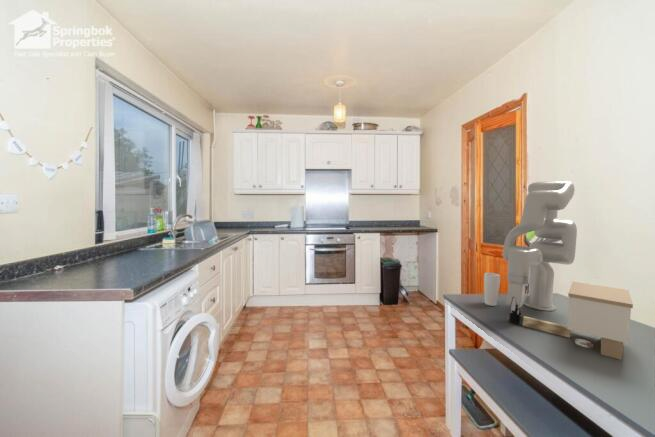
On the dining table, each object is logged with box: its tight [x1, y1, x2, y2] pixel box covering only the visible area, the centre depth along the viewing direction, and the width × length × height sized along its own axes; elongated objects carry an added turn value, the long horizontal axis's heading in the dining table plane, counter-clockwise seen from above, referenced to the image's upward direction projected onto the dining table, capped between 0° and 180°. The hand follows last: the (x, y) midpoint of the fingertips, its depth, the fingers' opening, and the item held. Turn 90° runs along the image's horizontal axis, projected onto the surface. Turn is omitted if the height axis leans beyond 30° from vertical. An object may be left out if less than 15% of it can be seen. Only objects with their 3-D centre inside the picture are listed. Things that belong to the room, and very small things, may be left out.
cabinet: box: [566, 281, 634, 360], centre depth 106 cm, size 16×21×19 cm
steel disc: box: [574, 338, 594, 349], centre depth 107 cm, size 5×5×1 cm
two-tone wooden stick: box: [508, 311, 572, 338], centre depth 119 cm, size 20×2×4 cm, turn 47°
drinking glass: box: [483, 272, 501, 307], centre depth 146 cm, size 7×7×15 cm
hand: (515, 321), depth 125 cm, fingers closed on two-tone wooden stick, 1 cm apart
